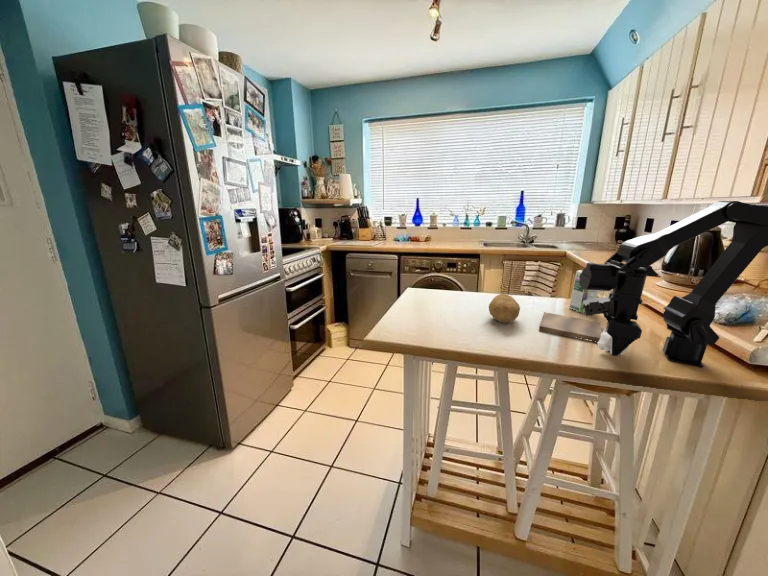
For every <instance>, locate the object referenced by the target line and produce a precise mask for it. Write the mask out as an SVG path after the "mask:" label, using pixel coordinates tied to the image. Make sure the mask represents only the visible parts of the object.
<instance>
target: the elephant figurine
mask: <svg viewBox="0 0 768 576" xmlns="http://www.w3.org/2000/svg"><path fill="white" fill-rule="evenodd" d="M596 343H597V342H596ZM596 345H598V348H599V349H600V350H601V351H605V350H606V351H605V352H607V351H610V352H609V354H610V355H611V354H612V337H611V336H610V335H609V334H608V333H607V330H606V329H604V330H603V331H602V333H601V338H600V340H599V341H598V343H597V344H596ZM629 347H630V345H629V346H628V347H627V348H626V349H625V350H624V351H622V352H621V353H620V354H619V355H618V356H623V355H624V354H626V352H627V350H628V349H629Z"/></svg>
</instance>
